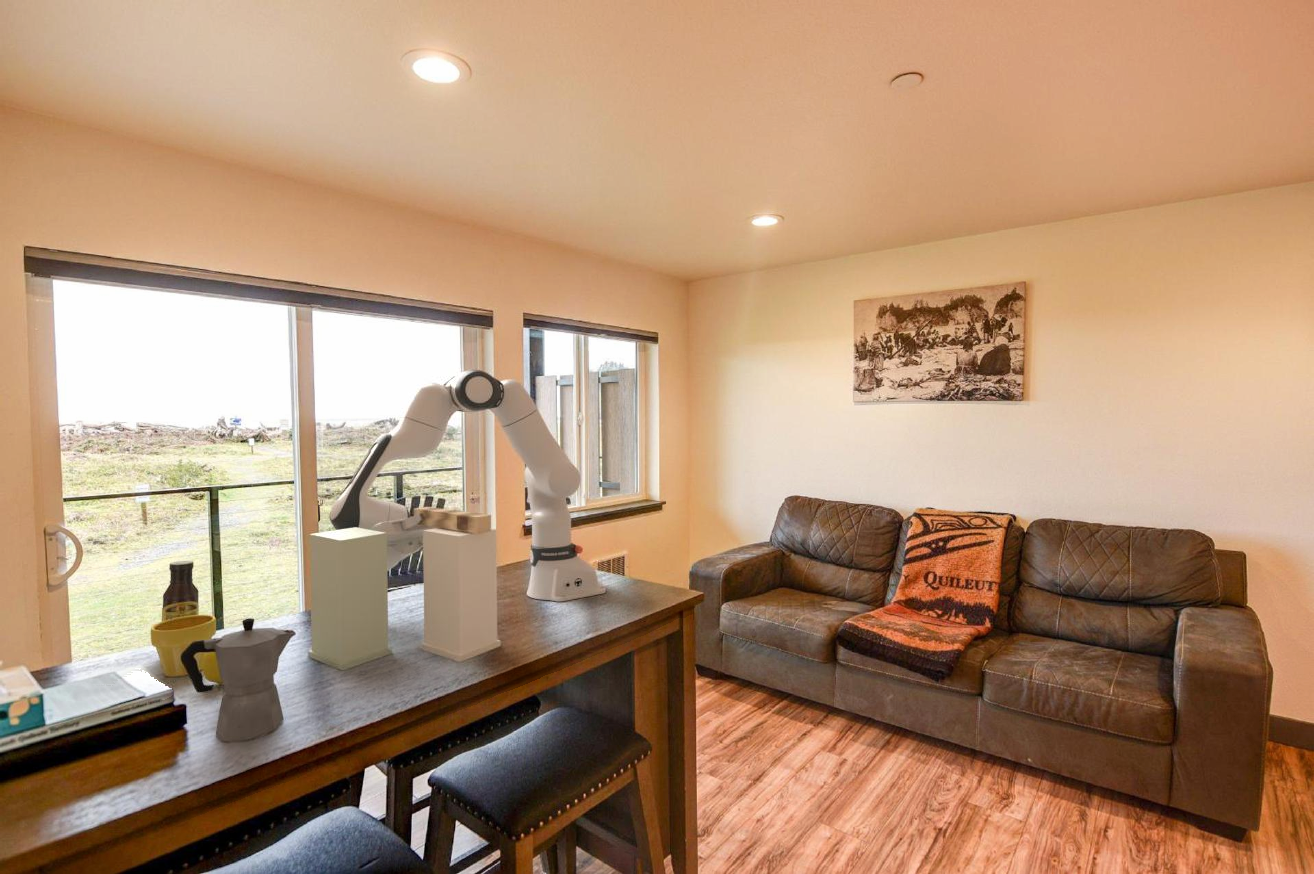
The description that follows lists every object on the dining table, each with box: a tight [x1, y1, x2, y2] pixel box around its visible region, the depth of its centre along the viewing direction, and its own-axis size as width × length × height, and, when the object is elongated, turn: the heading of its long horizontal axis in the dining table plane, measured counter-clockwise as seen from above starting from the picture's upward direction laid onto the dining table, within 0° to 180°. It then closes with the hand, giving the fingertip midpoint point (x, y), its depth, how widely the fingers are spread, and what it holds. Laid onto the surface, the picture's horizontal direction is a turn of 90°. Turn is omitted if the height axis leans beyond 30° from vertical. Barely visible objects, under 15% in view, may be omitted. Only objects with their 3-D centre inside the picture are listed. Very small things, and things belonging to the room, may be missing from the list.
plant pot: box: [150, 614, 217, 678], centre depth 124 cm, size 10×10×10 cm
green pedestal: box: [307, 527, 393, 671], centre depth 132 cm, size 13×11×26 cm
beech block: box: [413, 506, 492, 534], centre depth 137 cm, size 22×4×4 cm, turn 56°
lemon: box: [201, 652, 224, 686], centre depth 118 cm, size 6×6×8 cm
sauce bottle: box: [161, 560, 200, 622], centre depth 132 cm, size 7×6×20 cm
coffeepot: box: [181, 618, 297, 743], centre depth 100 cm, size 15×9×18 cm, turn 122°
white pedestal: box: [420, 527, 502, 663], centre depth 136 cm, size 13×11×26 cm
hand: (430, 514), depth 142 cm, fingers closed on beech block, 3 cm apart
